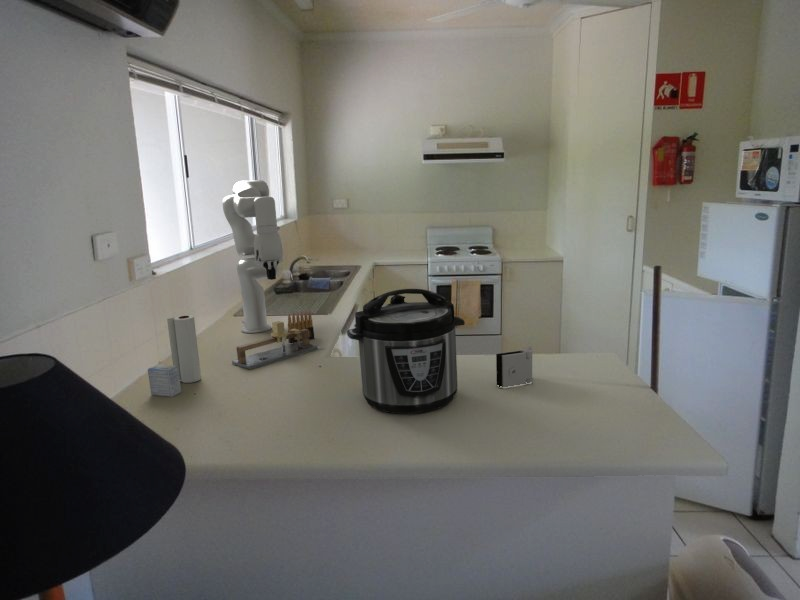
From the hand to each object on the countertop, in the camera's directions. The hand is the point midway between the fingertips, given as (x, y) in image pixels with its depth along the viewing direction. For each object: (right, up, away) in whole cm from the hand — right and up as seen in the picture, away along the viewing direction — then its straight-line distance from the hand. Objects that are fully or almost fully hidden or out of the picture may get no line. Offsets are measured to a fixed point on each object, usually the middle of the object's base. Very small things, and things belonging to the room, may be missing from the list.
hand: (271, 279), depth 216 cm
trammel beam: (+3, -27, -7) cm, 28 cm away
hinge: (+84, -33, -45) cm, 100 cm away
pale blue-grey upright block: (-23, -37, -41) cm, 60 cm away
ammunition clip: (+9, -25, +14) cm, 30 cm away
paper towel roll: (-20, -34, -29) cm, 49 cm away
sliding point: (+4, -27, -5) cm, 28 cm away
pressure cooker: (+52, -36, -54) cm, 83 cm away
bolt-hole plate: (+3, -28, -6) cm, 29 cm away
